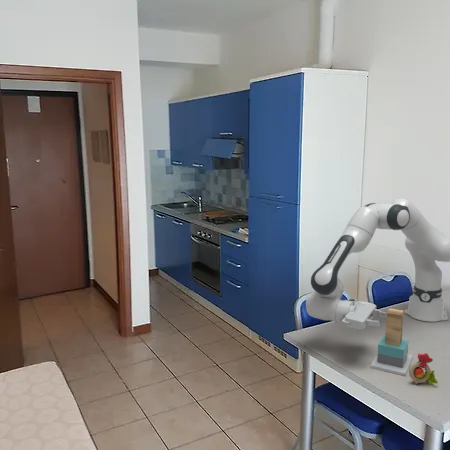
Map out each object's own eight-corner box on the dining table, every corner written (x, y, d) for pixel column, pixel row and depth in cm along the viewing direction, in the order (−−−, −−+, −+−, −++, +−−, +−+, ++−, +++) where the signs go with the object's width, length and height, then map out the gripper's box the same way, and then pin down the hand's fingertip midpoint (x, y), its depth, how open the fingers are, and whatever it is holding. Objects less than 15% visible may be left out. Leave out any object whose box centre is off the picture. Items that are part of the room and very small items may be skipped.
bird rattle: (420, 394, 156) (444, 382, 157) (409, 366, 154) (434, 355, 154) (411, 384, 163) (434, 373, 163) (400, 358, 160) (424, 347, 160)
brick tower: (380, 350, 184) (381, 331, 182) (413, 357, 178) (414, 337, 176) (370, 367, 170) (371, 347, 169) (405, 375, 164) (406, 354, 163)
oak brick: (387, 338, 176) (389, 308, 174) (401, 341, 173) (403, 310, 171) (384, 343, 172) (386, 312, 169) (399, 346, 169) (401, 315, 167)
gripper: (338, 313, 170) (377, 320, 163) (353, 297, 188) (389, 303, 181) (337, 329, 171) (376, 337, 165) (353, 311, 189) (388, 318, 182)
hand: (383, 319), depth 173 cm, fingers open, 8 cm apart
